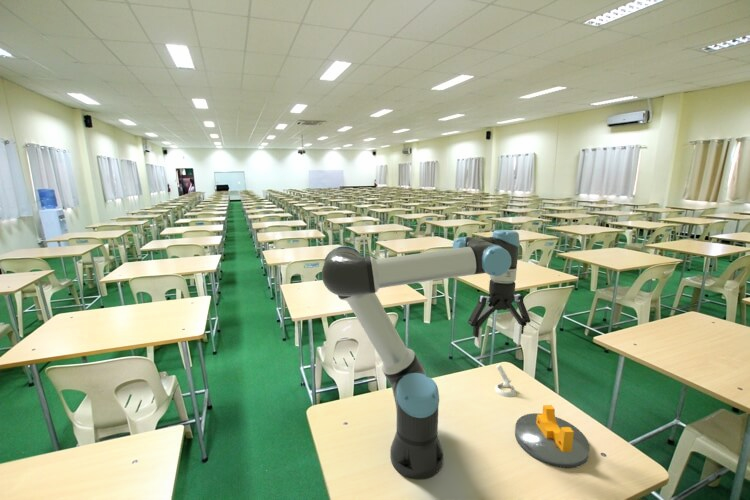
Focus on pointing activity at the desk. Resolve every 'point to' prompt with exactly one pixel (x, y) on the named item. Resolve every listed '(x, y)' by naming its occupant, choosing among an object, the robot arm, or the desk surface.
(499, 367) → the white ring with handle
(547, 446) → the dark grey flat disc
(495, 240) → the robot arm
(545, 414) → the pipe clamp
